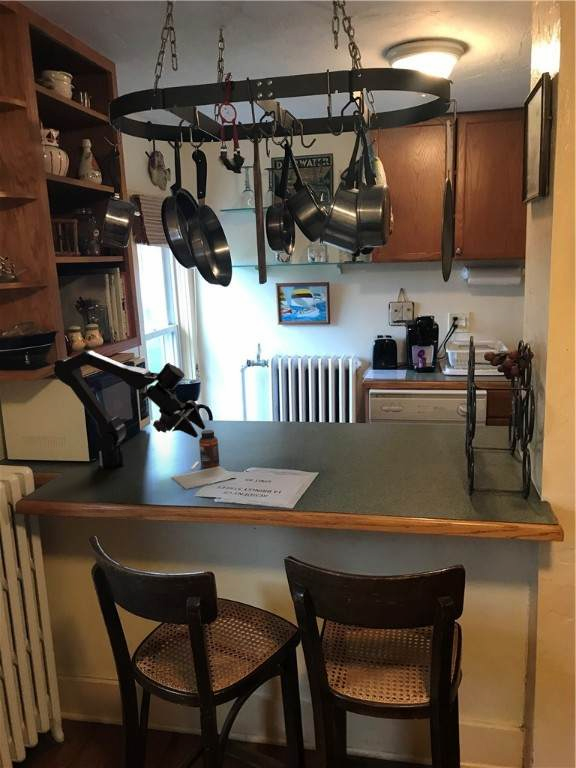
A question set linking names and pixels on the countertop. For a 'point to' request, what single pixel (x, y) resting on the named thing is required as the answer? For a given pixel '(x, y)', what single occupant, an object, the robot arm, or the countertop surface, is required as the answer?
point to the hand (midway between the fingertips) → (200, 432)
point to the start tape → (194, 465)
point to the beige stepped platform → (199, 477)
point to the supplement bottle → (209, 449)
